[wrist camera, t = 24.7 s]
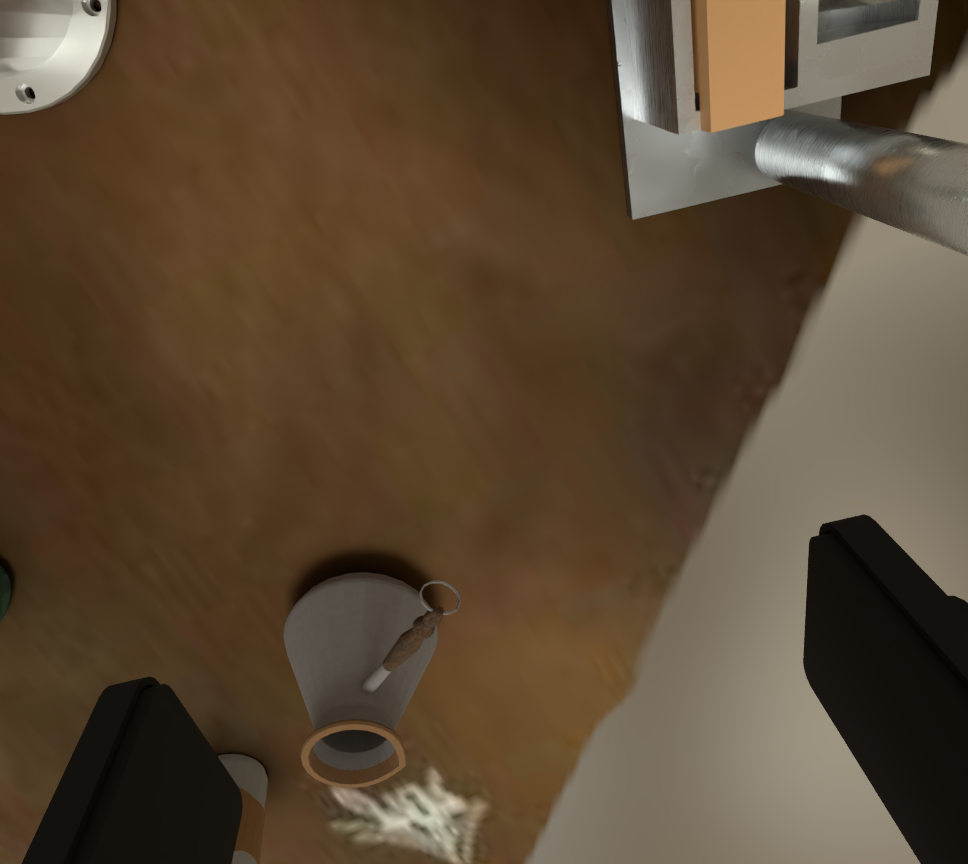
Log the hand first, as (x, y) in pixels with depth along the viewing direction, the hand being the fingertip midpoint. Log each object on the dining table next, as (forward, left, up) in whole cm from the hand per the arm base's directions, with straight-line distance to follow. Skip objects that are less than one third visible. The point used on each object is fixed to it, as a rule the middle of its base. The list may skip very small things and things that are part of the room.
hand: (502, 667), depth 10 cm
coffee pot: (+25, -10, -34) cm, 43 cm away
